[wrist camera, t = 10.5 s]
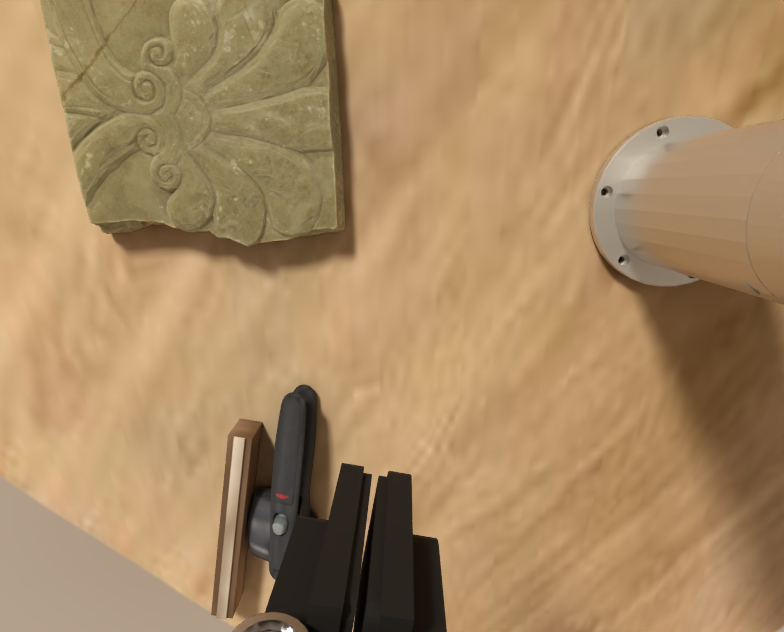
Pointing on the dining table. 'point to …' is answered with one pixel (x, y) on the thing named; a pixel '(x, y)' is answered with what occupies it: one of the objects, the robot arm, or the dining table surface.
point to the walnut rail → (235, 516)
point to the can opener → (285, 480)
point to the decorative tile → (203, 114)
